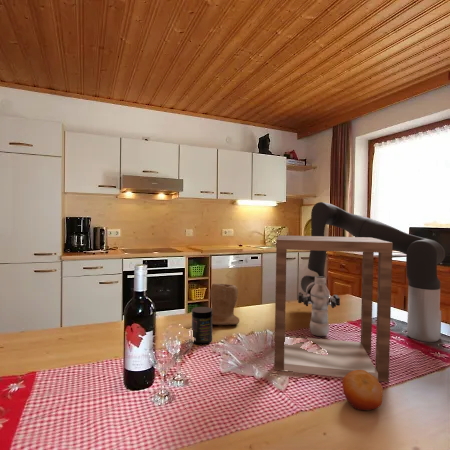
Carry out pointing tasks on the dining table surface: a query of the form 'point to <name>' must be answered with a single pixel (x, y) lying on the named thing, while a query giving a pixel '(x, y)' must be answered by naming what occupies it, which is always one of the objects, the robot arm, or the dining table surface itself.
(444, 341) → the dining table surface
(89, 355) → the dining table surface
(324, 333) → the plastic bottle
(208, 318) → the supplement container
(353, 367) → the walnut shelf
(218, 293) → the brown ankle boot
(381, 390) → the fruit
